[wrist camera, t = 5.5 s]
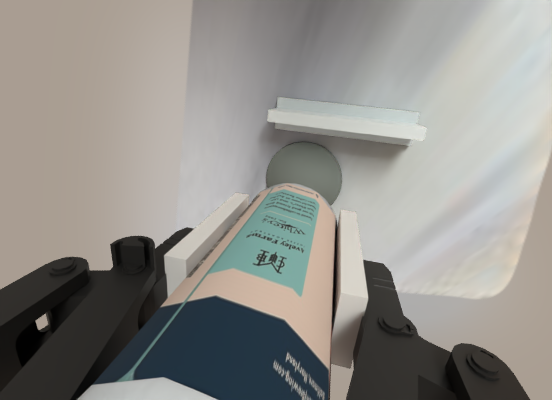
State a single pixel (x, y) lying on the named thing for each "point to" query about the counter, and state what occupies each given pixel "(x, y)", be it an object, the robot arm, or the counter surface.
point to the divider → (347, 121)
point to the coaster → (306, 169)
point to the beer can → (242, 313)
